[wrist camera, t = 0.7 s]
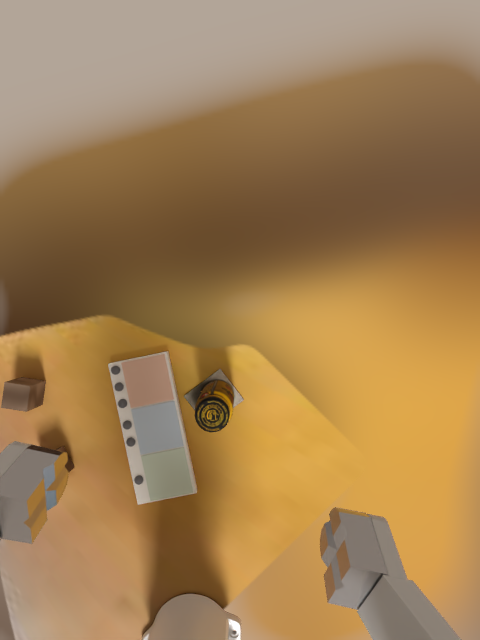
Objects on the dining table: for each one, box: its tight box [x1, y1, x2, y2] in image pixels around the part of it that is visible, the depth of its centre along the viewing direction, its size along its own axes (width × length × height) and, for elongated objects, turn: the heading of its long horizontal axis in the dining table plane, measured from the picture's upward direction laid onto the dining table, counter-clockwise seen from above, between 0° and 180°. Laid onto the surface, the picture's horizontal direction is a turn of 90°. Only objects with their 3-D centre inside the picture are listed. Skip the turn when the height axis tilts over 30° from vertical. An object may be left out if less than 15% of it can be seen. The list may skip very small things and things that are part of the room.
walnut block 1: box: [1, 377, 46, 412], centre depth 58 cm, size 4×4×4 cm
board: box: [108, 351, 197, 505], centre depth 60 cm, size 26×11×2 cm, turn 12°
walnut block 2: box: [56, 446, 74, 473], centre depth 59 cm, size 4×4×4 cm
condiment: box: [184, 369, 244, 432], centre depth 54 cm, size 7×8×12 cm
